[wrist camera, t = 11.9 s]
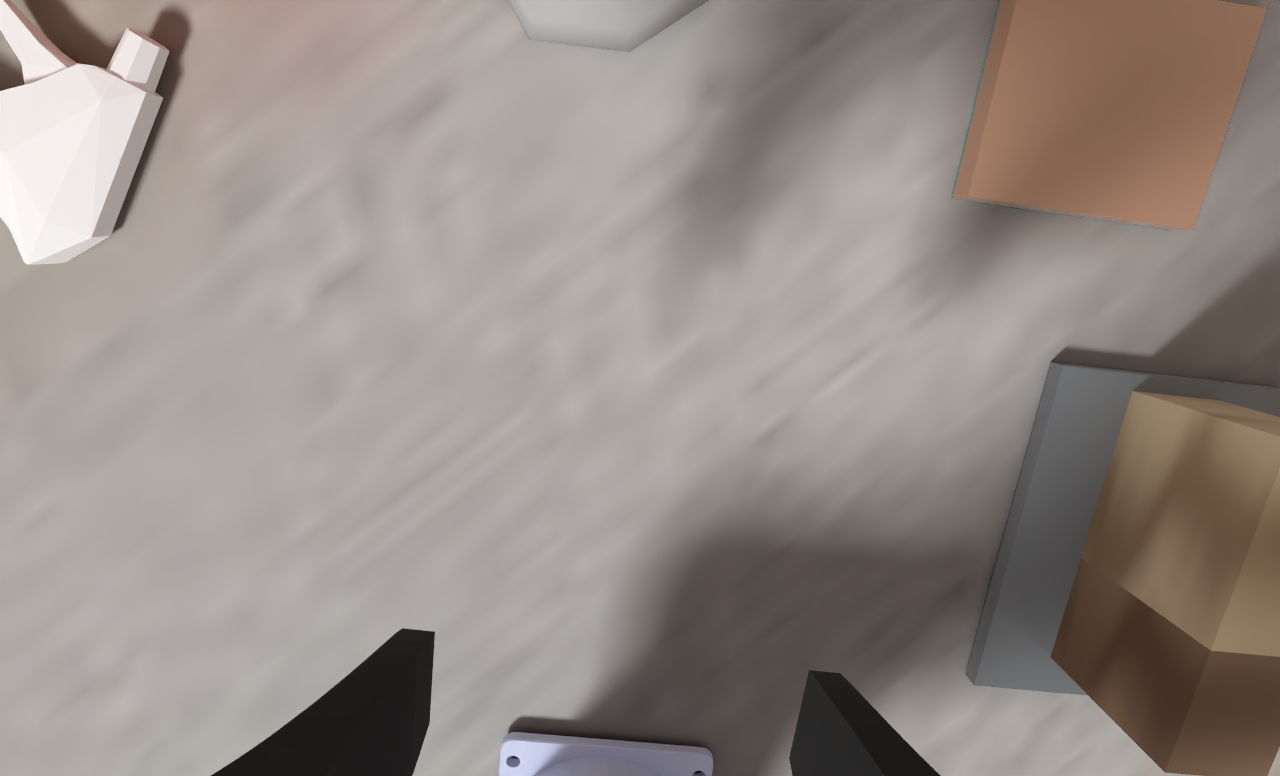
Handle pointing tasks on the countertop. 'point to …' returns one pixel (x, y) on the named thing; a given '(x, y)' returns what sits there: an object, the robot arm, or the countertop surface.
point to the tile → (1106, 107)
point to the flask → (599, 20)
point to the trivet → (1066, 514)
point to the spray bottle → (71, 139)
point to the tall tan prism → (1184, 587)
